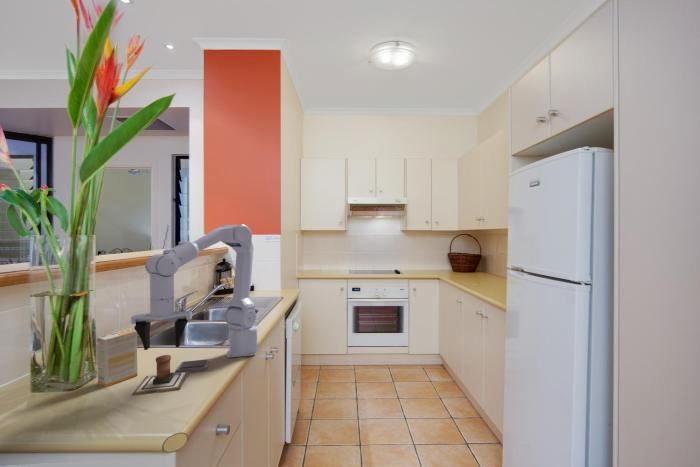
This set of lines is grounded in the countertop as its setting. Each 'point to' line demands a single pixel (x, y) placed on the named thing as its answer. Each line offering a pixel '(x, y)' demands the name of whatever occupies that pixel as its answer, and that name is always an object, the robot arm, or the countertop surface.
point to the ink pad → (193, 366)
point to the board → (148, 386)
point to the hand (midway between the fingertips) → (162, 347)
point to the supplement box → (117, 357)
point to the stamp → (163, 370)
